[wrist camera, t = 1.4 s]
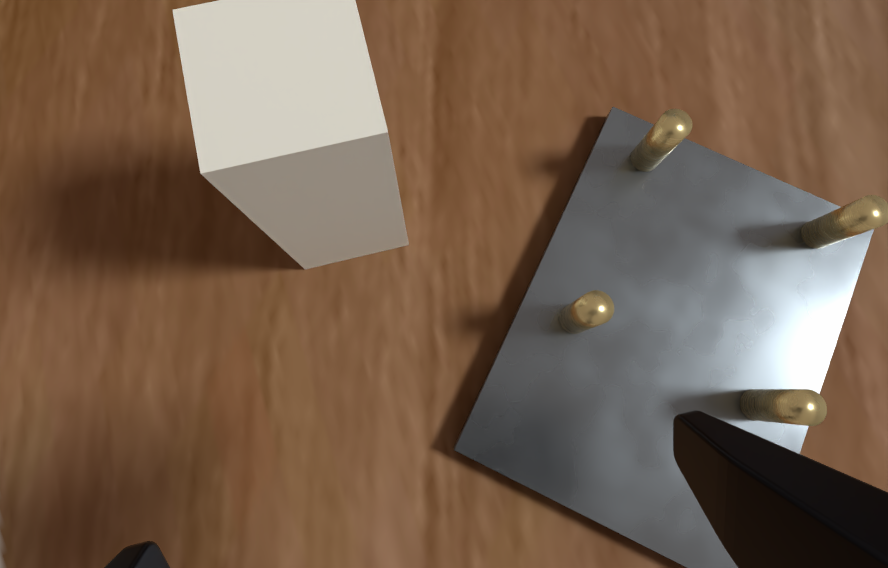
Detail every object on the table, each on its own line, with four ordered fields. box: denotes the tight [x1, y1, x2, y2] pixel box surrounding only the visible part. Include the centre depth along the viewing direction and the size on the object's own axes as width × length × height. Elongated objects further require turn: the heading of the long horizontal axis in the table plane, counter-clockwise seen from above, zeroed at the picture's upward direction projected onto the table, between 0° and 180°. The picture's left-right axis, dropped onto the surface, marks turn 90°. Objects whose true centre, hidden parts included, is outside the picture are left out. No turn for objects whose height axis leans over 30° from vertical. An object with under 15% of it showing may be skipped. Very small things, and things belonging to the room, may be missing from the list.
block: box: [173, 0, 409, 269], centre depth 18 cm, size 4×4×10 cm
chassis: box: [454, 107, 888, 568], centre depth 20 cm, size 16×12×4 cm
